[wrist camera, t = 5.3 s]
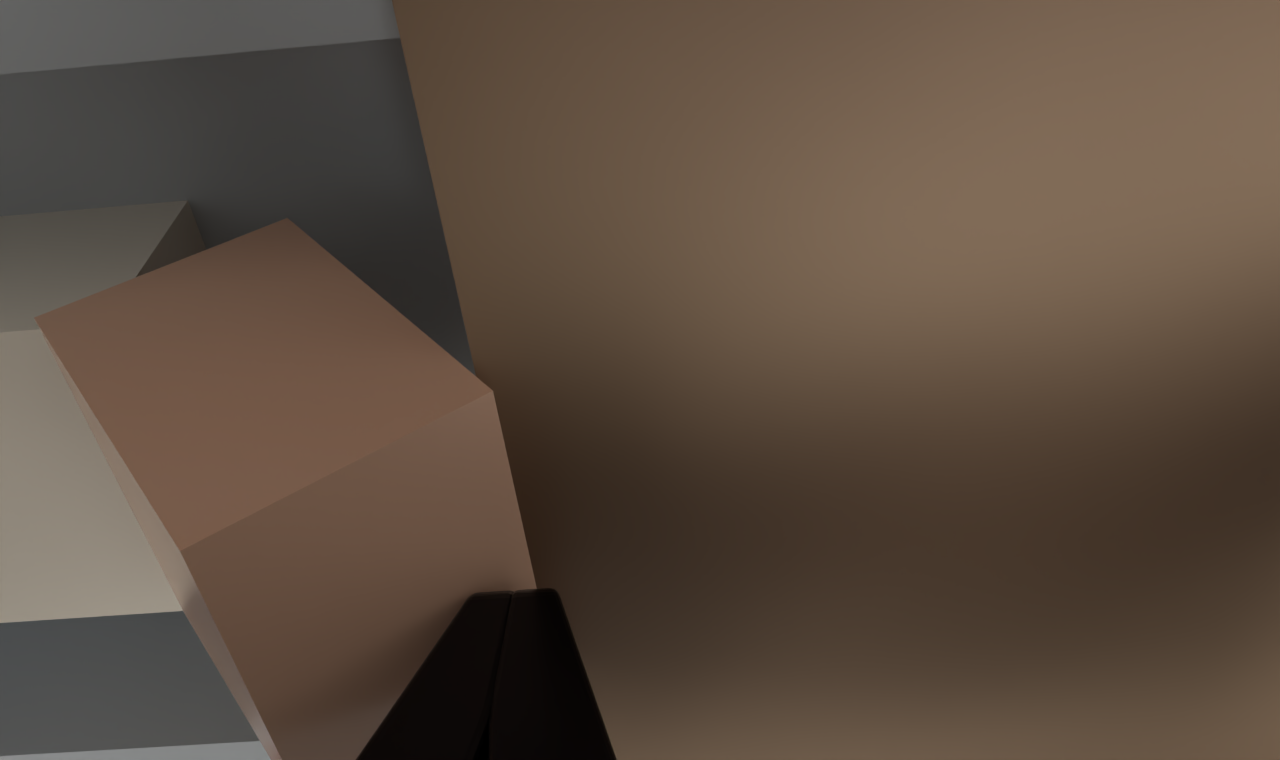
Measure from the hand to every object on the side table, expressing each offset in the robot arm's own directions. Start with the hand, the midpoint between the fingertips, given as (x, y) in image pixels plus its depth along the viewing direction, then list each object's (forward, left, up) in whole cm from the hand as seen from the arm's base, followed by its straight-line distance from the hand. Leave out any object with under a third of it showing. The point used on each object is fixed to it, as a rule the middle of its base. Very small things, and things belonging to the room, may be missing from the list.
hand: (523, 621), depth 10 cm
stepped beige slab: (0, -4, -5) cm, 7 cm away
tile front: (0, +1, -2) cm, 2 cm away
